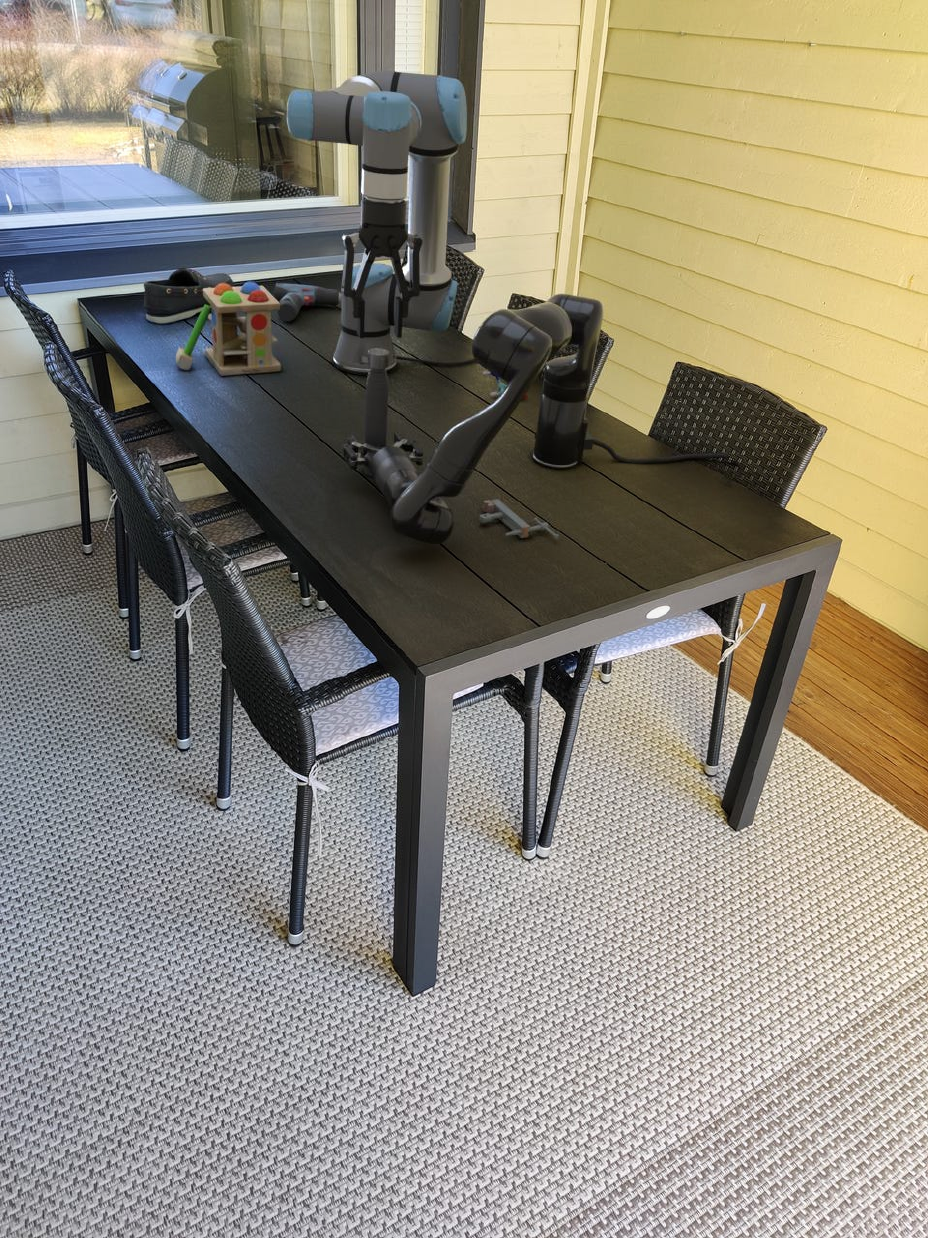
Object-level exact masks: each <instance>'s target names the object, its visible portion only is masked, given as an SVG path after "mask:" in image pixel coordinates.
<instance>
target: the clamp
mask: <svg viewBox="0 0 928 1238" xmlns="http://www.w3.org/2000/svg"><path fill="white" fill-rule="evenodd" d="M482 506H483V507H482V512H484V513H482V514H479V516H478V517H479V519H478V520H479V522H480V523H482V524H485V523H491V522H492V521H493V520H497V519H498V520H500V521H501V522H502V523H503V524H504V525H506V526H507V527H508V528H509V529H510V530H511V531H509V532H505V533H504V536H505V537H509V536H518V537H519V538H521V539H525V538H529V535H530V534H529V533H531V532H535V531H546V532H547V533H548V534H550V535H552V536H553V537H554V540H559V538H560V534H558V533H557V534H556V533H555V532H554V531H553V530H552V529H550V528H549V527H550V525H549V523H548V522H542V521H540V520H539V518H538V517H537V516H536V517H534V518H533V520H532V521H533V523H537V524H538V525H534V526H531V525H529V524H528V523H527V522H526V521H525V520H523V519H522V517H520V516H519V515H518V514H516V513H515V512H514V511H512V509H510V508H509V507H508V506H507V505H506V504H504V502H502V501H501V500H500V499H499V498H497V499H492V500H490V499H488V500H484V501H483V505H482Z"/></svg>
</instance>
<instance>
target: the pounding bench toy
mask: <svg viewBox="0 0 928 1238" xmlns="http://www.w3.org/2000/svg"><path fill="white" fill-rule="evenodd" d="M203 296H204V297H205V299H206V300H207V301H208V302H209V304H210V305H211V307H210V306H208V305H204V307H203V309H202V311H200V313H199V316H198V318H197V320H196V322H195V324H194V327H193V329H192V331H191V332H190V333H191V334H190V336H189V338H188V340H187V343H186V344H185V347H184V348H182V347H180V346H179V347H178V349H177V351H176V354H175V357H174V358H175V362H176V365H177V366H178V368H179V369H182V370H185V371H189V370H190V369H191V367H192V365H193V363H194V356H193V351H194V348H195V347H196V345H197V342H198V340H199V337H200V336H201V333H202V332H203V329H204V326H205V325H206V322H207V320H209V321H210V322H211V336H212V337H211V338H212V339H211V340H212V348H205V349H204V352H205V353H204V355H205V357H206V359H208V361H209V363H210V364H211V365H212V366H213V367H214V369H215V370H216V371H217V372H218V374H219V375H220V376H222V377H223V376H234V375H235V376H236V375H246V374H247V375H250V374H262V373H275V372H281V370H282V364H281V363H280V362H279V360H278V359H277V358H276V357H275V356H274V355H273V348H272V347H273V345H272V344H276V343H278V342H279V341H278V339H277V338H276V337H275V336H274V334H272V311H278V310H280V302H278V301H277V300H276V299H275V296H273V295H272V294H271V293H270V292H269V290H268V289H267V288H266V287H264V285H259V284H257V283H256V282H255V281H247V282H245V283H244V284H243V285H242V286H234V287H231V286H230V285H228V284H226V283H221V284H218V285H217V286H216V287H215V288H204V289H203ZM238 313H244V314H245V315H244V316H238ZM238 329H239V331H240V333H239V334H238Z"/></svg>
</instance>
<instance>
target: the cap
mask: <svg viewBox="0 0 928 1238" xmlns="http://www.w3.org/2000/svg"><path fill="white" fill-rule="evenodd" d="M368 366H369V367H370V368H373V369H386V368H388V366H389V351H388V350H385V349H381V348H373V349H370V350H368Z"/></svg>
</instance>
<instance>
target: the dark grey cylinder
mask: <svg viewBox="0 0 928 1238" xmlns="http://www.w3.org/2000/svg"><path fill="white" fill-rule="evenodd" d="M389 384H390V383H389V377H388V373H386V370H385V369H373V368H371V369H370V372H369V375H367V378H366V384H365V417H364V419H365V420H364V444H366V443H367V444H369V445H372V446H375V447H386V446H387V436H388V435H387V433H388V432H387V431H388V412H389V411H388V410H389V407H388V405H389V386H390V385H389ZM368 452H369V450H368ZM363 473H364V474H365V475H367V476H368V477H372V478H373V476H372V474H371V472H370V469H369V468H368V467H366V466H365V465H363Z"/></svg>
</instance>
